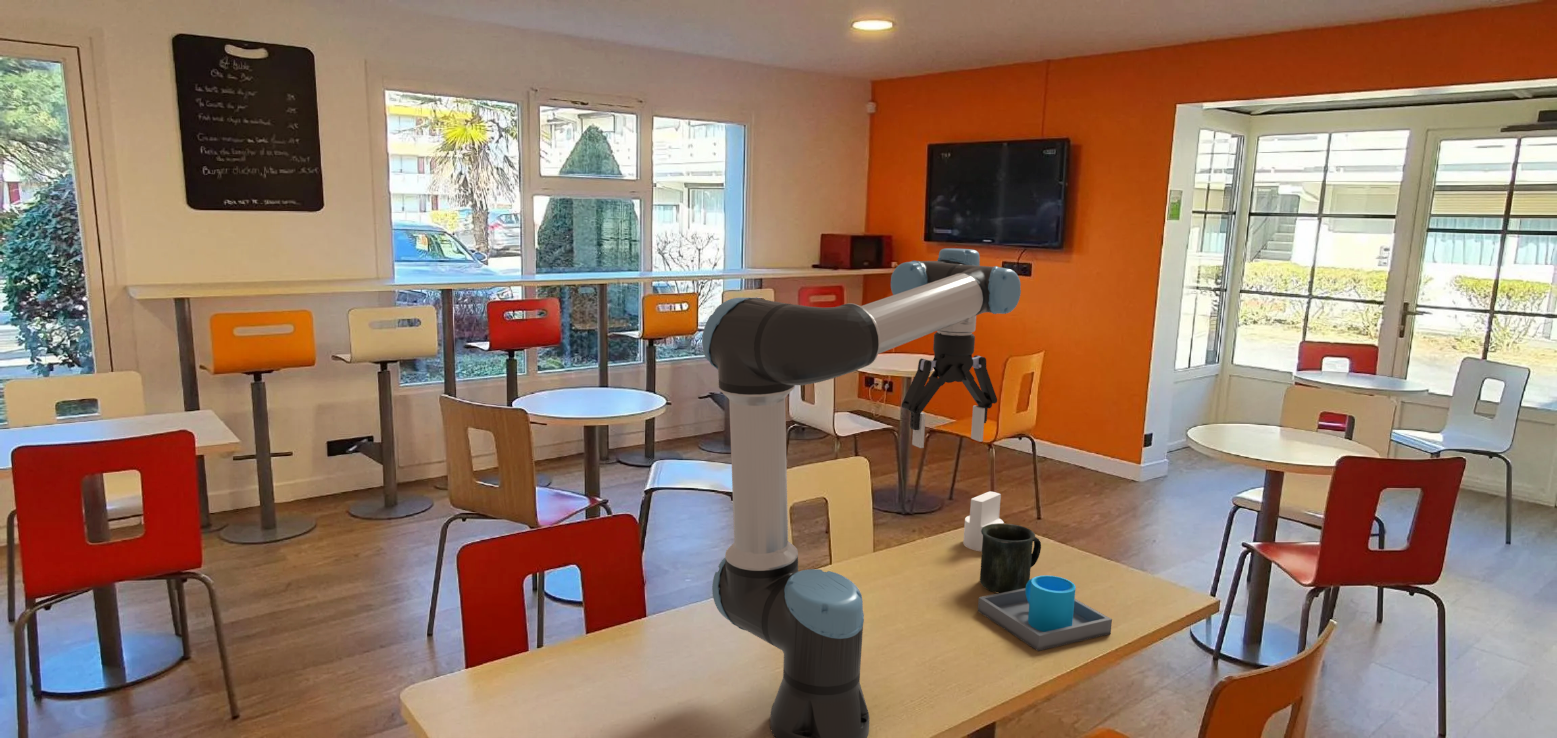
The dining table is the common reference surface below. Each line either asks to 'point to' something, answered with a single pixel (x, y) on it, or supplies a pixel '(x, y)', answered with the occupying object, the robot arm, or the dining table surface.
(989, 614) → the tray
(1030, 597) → the mug
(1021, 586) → the mug
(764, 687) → the dining table surface
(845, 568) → the dining table surface
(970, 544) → the base with upright slab
